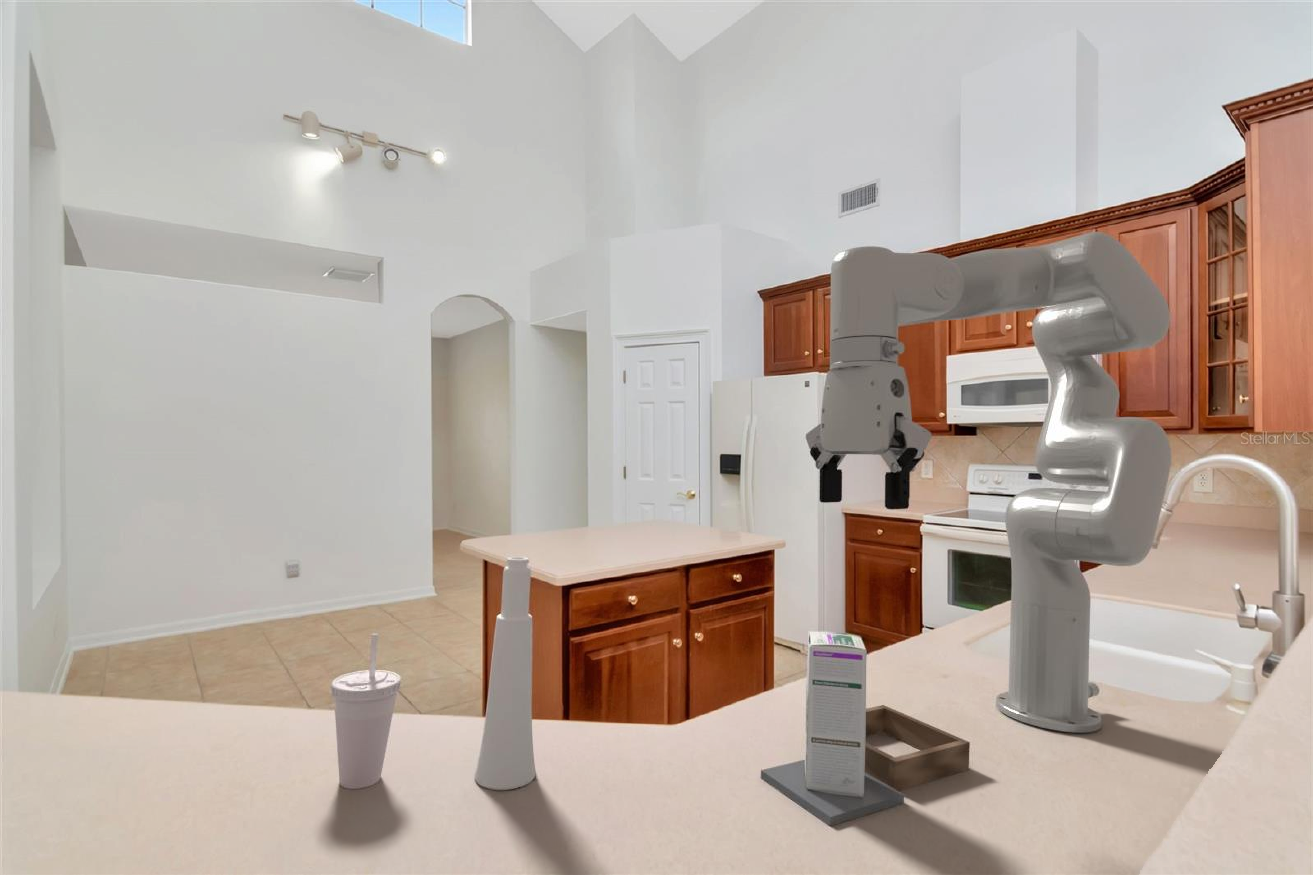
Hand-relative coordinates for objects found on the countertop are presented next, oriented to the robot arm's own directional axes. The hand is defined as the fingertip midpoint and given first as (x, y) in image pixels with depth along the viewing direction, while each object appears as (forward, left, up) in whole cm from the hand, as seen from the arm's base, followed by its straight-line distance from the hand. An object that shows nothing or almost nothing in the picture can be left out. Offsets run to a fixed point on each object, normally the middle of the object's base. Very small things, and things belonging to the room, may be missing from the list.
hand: (862, 505), depth 76 cm
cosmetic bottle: (+37, -12, -29) cm, 48 cm away
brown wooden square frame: (-4, +1, -29) cm, 29 cm away
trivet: (+8, +4, -29) cm, 30 cm away
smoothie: (+50, -17, -29) cm, 60 cm away
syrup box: (+7, +4, -28) cm, 29 cm away
